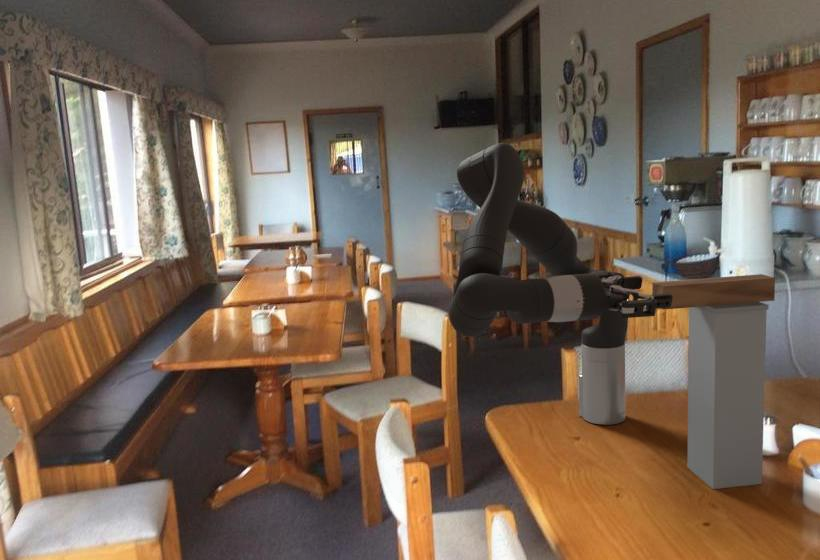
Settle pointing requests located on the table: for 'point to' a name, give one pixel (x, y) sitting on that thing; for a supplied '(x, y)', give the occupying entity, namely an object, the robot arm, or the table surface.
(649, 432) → the table surface
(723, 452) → the stand
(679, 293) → the walnut bar
